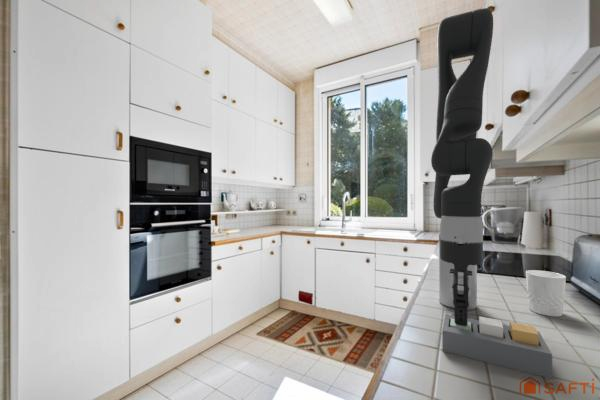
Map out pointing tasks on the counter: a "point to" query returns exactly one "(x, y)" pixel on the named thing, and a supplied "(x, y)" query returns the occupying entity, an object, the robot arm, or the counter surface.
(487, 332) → the off-white key
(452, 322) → the sage green key
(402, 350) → the counter surface
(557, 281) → the white cup
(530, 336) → the amber key
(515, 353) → the keypad
